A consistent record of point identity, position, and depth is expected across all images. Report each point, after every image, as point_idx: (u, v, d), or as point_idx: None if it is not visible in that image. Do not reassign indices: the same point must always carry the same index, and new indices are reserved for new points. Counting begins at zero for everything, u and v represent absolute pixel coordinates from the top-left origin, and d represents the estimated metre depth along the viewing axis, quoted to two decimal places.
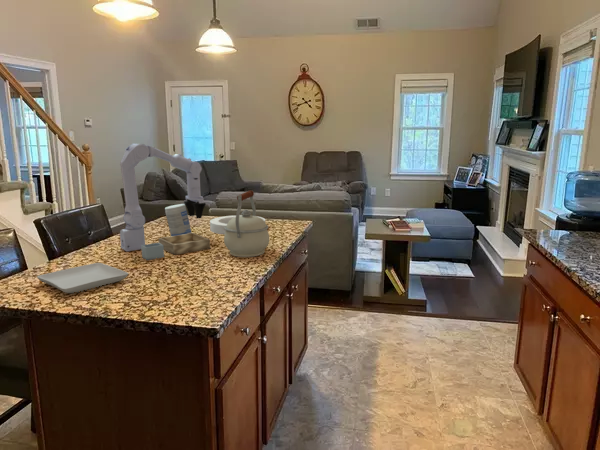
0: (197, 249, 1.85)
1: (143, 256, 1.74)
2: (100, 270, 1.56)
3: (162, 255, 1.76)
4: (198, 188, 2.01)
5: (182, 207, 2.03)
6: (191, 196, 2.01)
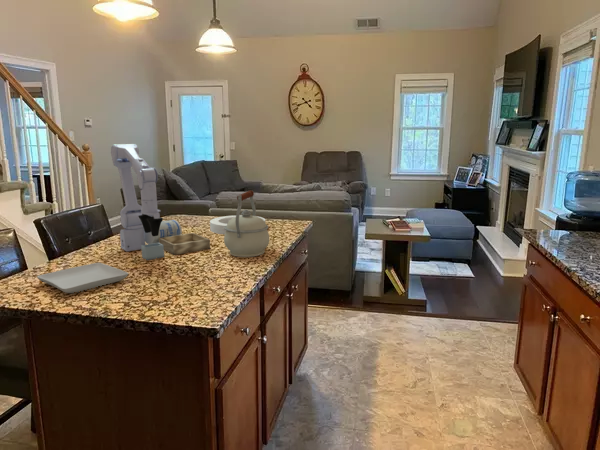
0: (197, 249, 1.85)
1: (143, 256, 1.74)
2: (100, 270, 1.56)
3: (162, 255, 1.76)
4: (154, 200, 1.70)
5: None
6: (145, 210, 1.69)
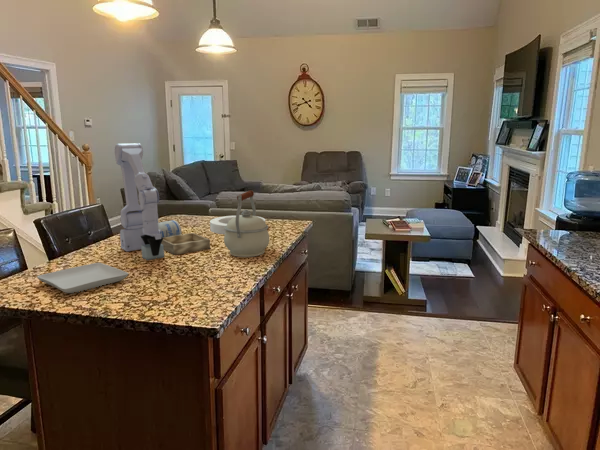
0: (197, 249, 1.85)
1: (143, 256, 1.74)
2: (100, 270, 1.56)
3: (162, 255, 1.76)
4: (155, 221, 1.71)
5: None
6: (147, 230, 1.71)
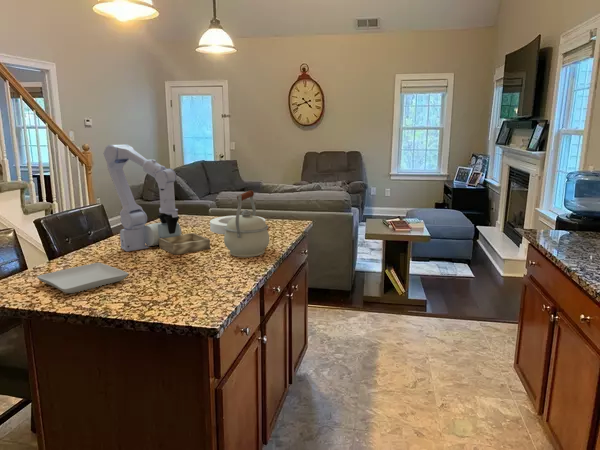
0: (197, 249, 1.85)
1: (159, 234, 1.80)
2: (100, 270, 1.56)
3: (178, 234, 1.82)
4: (172, 200, 1.78)
5: (155, 237, 1.90)
6: (164, 209, 1.77)
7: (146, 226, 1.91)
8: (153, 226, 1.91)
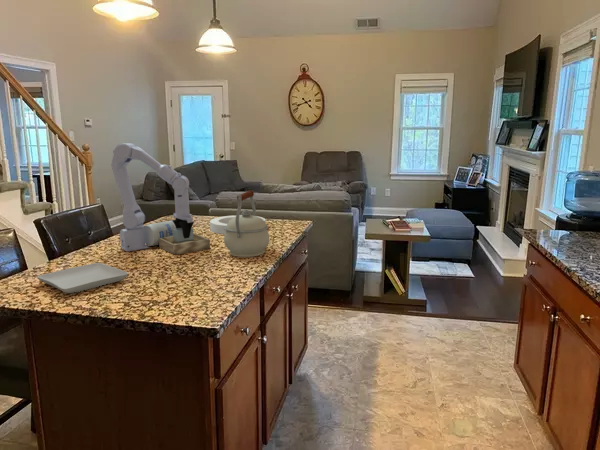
0: (197, 249, 1.85)
1: (174, 239, 1.88)
2: (100, 270, 1.56)
3: (192, 238, 1.89)
4: (187, 206, 1.85)
5: (155, 237, 1.90)
6: (179, 214, 1.85)
7: (146, 226, 1.91)
8: (153, 226, 1.91)
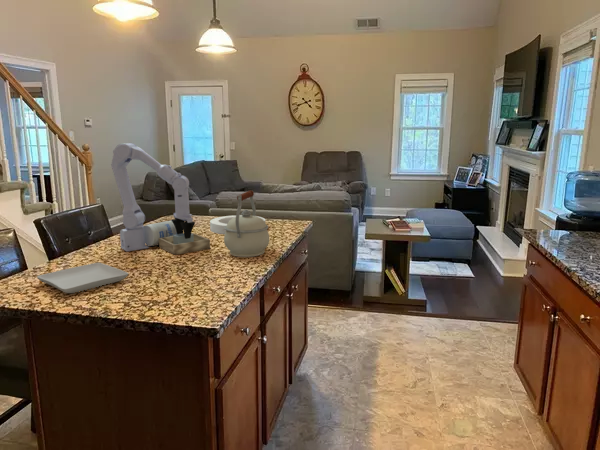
0: (197, 249, 1.85)
1: None
2: (100, 270, 1.56)
3: None
4: (187, 206, 1.85)
5: (155, 237, 1.90)
6: (179, 214, 1.85)
7: (146, 226, 1.91)
8: (153, 226, 1.91)
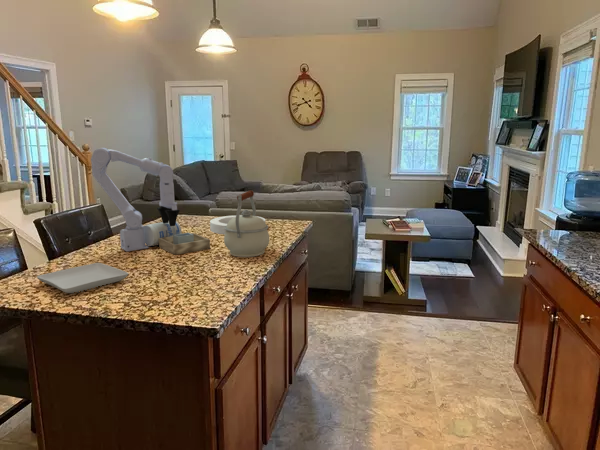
0: (197, 249, 1.85)
1: None
2: (100, 270, 1.56)
3: None
4: (171, 194, 1.88)
5: (155, 237, 1.90)
6: (164, 202, 1.88)
7: (146, 226, 1.91)
8: (153, 226, 1.91)
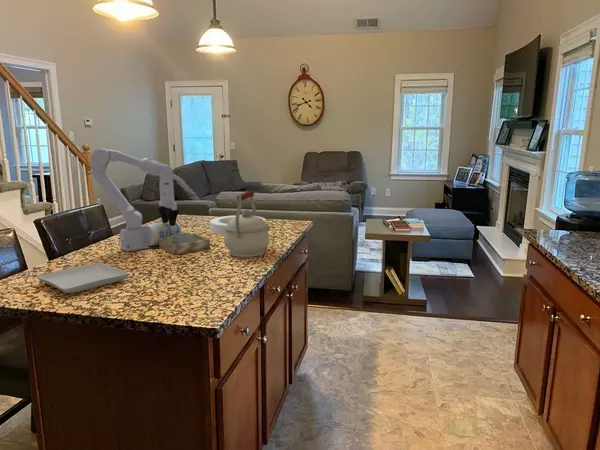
0: (197, 249, 1.85)
1: None
2: (100, 270, 1.56)
3: None
4: (171, 194, 1.88)
5: (155, 237, 1.90)
6: (164, 202, 1.88)
7: (146, 226, 1.91)
8: (153, 226, 1.91)
